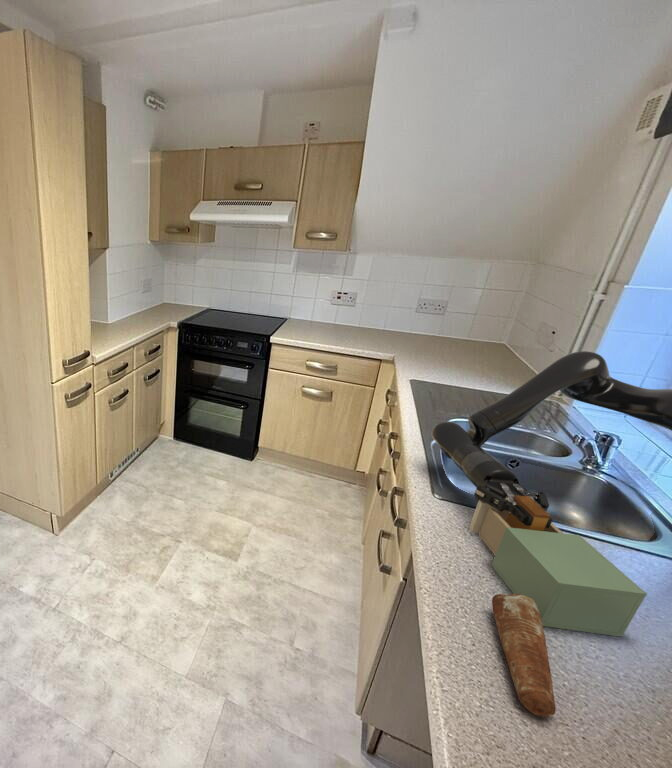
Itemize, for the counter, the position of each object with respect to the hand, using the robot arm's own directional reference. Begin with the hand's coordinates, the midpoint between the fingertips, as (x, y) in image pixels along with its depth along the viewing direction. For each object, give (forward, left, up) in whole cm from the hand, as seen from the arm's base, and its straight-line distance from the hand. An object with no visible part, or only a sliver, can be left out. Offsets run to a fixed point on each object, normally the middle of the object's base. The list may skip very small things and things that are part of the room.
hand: (539, 522), depth 80 cm
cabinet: (0, +8, -10) cm, 13 cm away
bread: (+13, +23, -11) cm, 28 cm away
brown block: (0, -3, -6) cm, 7 cm away
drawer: (0, -5, -9) cm, 11 cm away
